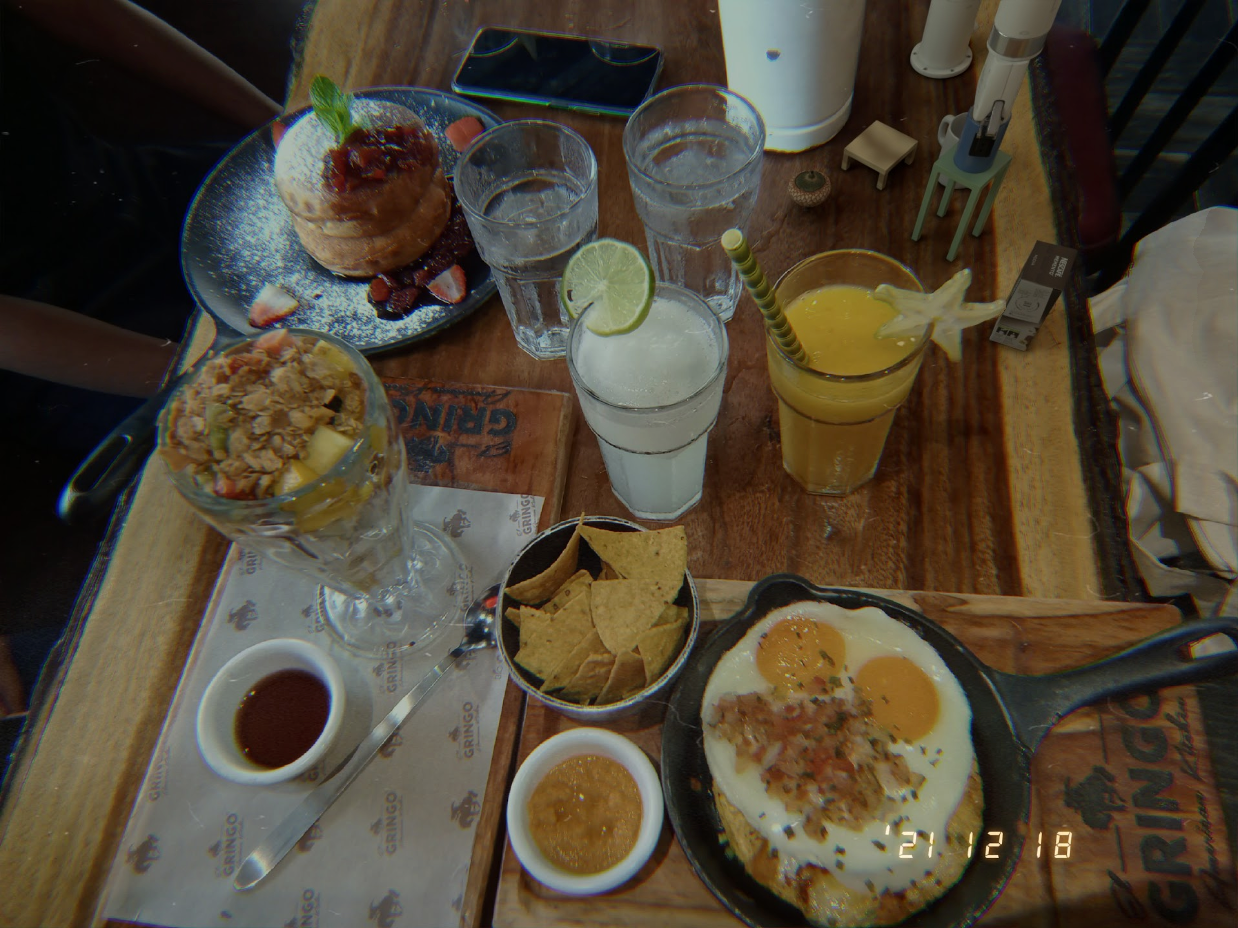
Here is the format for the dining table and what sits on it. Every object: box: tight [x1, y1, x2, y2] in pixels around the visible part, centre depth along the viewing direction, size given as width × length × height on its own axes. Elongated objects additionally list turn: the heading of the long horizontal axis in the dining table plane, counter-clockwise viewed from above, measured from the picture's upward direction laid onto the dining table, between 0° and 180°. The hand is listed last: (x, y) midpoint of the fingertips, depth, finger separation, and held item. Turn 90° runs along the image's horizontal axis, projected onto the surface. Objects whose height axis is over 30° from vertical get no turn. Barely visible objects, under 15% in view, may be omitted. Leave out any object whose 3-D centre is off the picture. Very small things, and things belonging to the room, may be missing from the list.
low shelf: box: [840, 120, 919, 191], centre depth 147 cm, size 10×10×5 cm
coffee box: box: [989, 239, 1079, 352], centre depth 121 cm, size 9×6×16 cm
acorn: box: [787, 169, 832, 212], centre depth 142 cm, size 8×8×10 cm
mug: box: [937, 111, 968, 190], centre depth 141 cm, size 12×8×11 cm
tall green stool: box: [911, 141, 1014, 262], centre depth 131 cm, size 9×9×18 cm
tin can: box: [953, 104, 1013, 173], centre depth 119 cm, size 6×6×9 cm
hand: (980, 139), depth 119 cm, fingers closed on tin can, 6 cm apart
